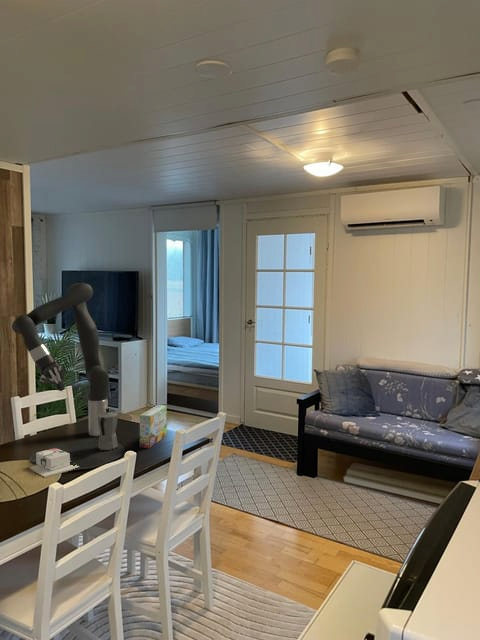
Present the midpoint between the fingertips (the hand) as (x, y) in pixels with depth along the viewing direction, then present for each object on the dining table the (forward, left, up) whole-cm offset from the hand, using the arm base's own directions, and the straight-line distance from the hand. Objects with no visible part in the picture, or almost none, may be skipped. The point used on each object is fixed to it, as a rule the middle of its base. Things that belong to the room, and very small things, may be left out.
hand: (62, 390), depth 208 cm
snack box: (-35, +20, -27) cm, 48 cm away
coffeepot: (-14, +14, -27) cm, 33 cm away
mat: (+13, +20, -26) cm, 36 cm away
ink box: (+13, +12, -23) cm, 29 cm away
